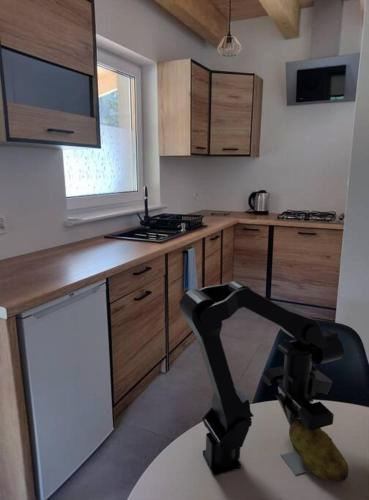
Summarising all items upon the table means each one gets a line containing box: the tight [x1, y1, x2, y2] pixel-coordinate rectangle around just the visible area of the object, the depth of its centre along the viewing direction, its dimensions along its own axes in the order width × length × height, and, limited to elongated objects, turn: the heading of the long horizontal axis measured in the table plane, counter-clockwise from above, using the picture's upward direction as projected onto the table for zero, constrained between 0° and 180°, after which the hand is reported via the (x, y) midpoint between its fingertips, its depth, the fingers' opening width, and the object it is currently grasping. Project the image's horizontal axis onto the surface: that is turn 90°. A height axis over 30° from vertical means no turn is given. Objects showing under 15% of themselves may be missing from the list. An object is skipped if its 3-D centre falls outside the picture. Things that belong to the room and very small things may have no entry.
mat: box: [280, 450, 311, 476], centre depth 77 cm, size 11×5×1 cm, turn 108°
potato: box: [288, 418, 349, 483], centre depth 75 cm, size 8×13×8 cm, turn 15°
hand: (292, 426), depth 83 cm, fingers closed
